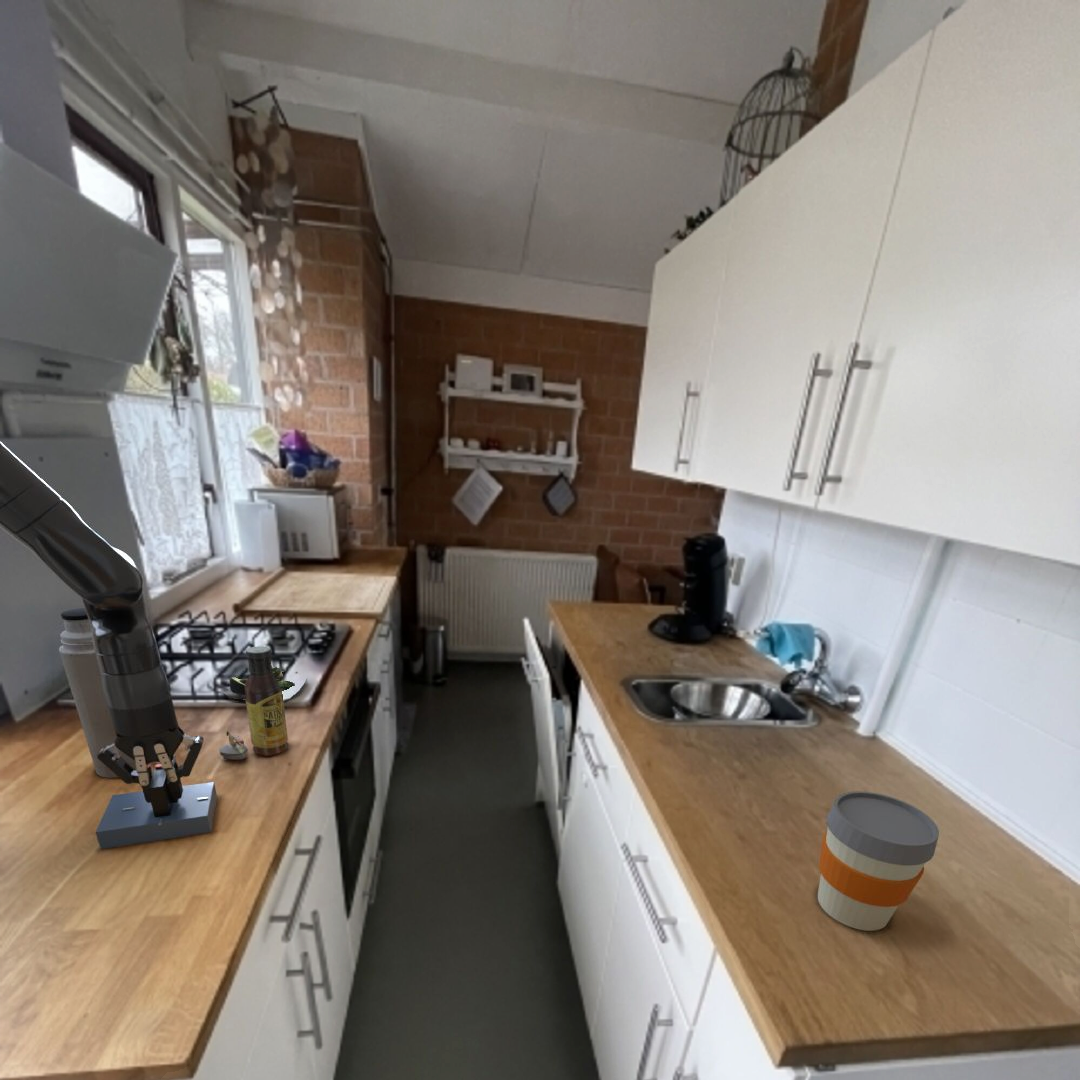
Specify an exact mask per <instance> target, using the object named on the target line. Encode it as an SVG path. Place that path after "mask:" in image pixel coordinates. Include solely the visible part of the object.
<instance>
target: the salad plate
mask: <svg viewBox="0 0 1080 1080" xmlns="http://www.w3.org/2000/svg"><path fill="white" fill-rule="evenodd" d="M272 669H273V673H274V676H275V678H276V679H280V678H282V677H283V674H282V672H283V671H282V669H281V667H280V668H277V667H275V668H273V667H272ZM246 682H247V679H238V678H236V677H235V676H231V677H230V679H229V682H228V683H230V690H231V691H232V692H233V693H236V694H238V695H246V693H245V684H246ZM278 684H279V686H280V688H281V690H282V691H284V690H287V689H289V688H290V687H292V686H295V683H293V682H290V681H284V680H282V681H278ZM231 691H230V692H231ZM225 697H226V698H228V700H230V701H232V702H236V703H242V704H246V700H243V699H233V698H229V697H227V696H225Z"/></svg>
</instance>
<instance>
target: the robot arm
mask: <svg viewBox="0 0 1080 1080" xmlns="http://www.w3.org/2000/svg"><path fill="white" fill-rule="evenodd" d="M0 528H1V530H3V531H4V532H5V533H6V534H8V535H9V536H11V538H13V539H14V540H16V541H17V542H18V543H20V544H21V545H22V546H23V547H25V548H27V549H28V550H29V551H30V552H32V554H34V555H35V556H36V557H37V558H38V559H39V560H40V561H41V562H42V563H43V564H44V565H45V566H46V567H47V568H48V569H49V570H50V571H51V572H52V573H53V574H55V575H56V577H58V579H60V581H62V582H63V583H64V584H65V585H66V586H67V587H68V588H69V589H70V590H72V592H74V593H75V594H76V595H77V596H79V597H80V598H81V600H82V603H83V606H84V608H85V609H86V612H87V615H88V618H89V621H90V625H91V630H92V641H93V646H94V651H95V654H96V658H97V661H98V665H99V668H100V672H101V679H102V686H103V691H104V694H105V698H106V701H107V705H108V708H109V712H110V715H111V719H112V722H113V726H114V729H115V732H116V739H115V741H114V743H113V744H111V745H110V746H103V747H102V749H101V750H100V752H99V754H98V756H97V758H98V759H99V760H100V761H101V762H102V763H103V764H104V765H106V766H107V767H108V768H109V769H110V770H111V771H112V772H114V773H115V774H116V775H117V776H118V777H117V778H119V779H120V780H121V781H122V782H123V783H125V784H127V785H130V784H138V785H140V787H141V789H142V790H141V791H143V794H144V797H145V800H146V802H147V803H151V801H150V797H149V794H148V790H147V788H148V785H149V782H150V780H151V777H152V774H153V770H152V763H159V764H161V766H162V768H163V770H165V773H166V775H167V778H168V783H167V784H168V788H169V792H170V796H171V800H172V803H177V802H178V801H179V799H180V798H181V797H182V793H183V788H182V786H183V784H182V779H181V778H187V777H190V775H191V773H192V771H193V768H194V766H195V764H196V761H197V759H198V757H199V754H200V753H201V750H202V748H203V743H204V737H203V736H202V735H196V736H193V735H188V734H185V732H184V730H183V729H182V728H181V727H180V726H179V724H178V723H179V722H178V720H177V715H176V710H175V706H174V702H173V697H172V694H171V692H172V691H171V685H170V683H169V681H168V677H167V674H166V671H165V669H164V667H163V663H162V660H161V655H160V650H159V648H158V643H157V640H156V636H155V633H154V630H153V628H152V626H151V624H150V621H149V618H148V613H147V609H146V608H147V607H146V603H145V597H144V593H143V592H144V579H143V576H142V574H141V572H140V570H139V568H138V566H137V564H136V562H135V561H134V560H133V559H132V557H130V556H129V554H127V553H125V552H124V551H122V550H120V549H118V548H115V547H113V546H111V545H110V544H109V543H108V542H107V541H106V540H105V539H104V538H102V537H101V536H100V535H99V534H98V533H96V532H95V531H94V530H93V529H92V528H91V527H89V526H88V524H86V523H85V522H84V520H83V519H82V518H81V516H80V515H79V514H78V512H77V511H76V510H75V509H74V508H73V506H71V505H70V504H69V503H68V502H67V501H66V500H65V499H64V498H62V496H61V495H60V494H58V493H57V492H56V491H55V490H54V489H53V488H52V487H51V486H50V485H49V484H47V482H45V481H44V480H43V479H42V478H40V476H38V474H36V473H35V472H34V471H33V470H32V469H31V468H30V467H28V466H27V464H25V463H24V462H23V461H22V460H21V459H20V458H19V457H18V456H16V455H15V454H14V453H13V452H12V451H11V450H10V449H9V448H8V447H7V446H6V445H5V444H4V443H3V442H1V441H0ZM181 744H184V750H185V751H186V752H187V755H186V757H185V759H184V762H183V764H181V765H179V764H178V762H177V757H176V752H177V751H178V749H179V748H180V746H181ZM119 750H120V751H122V752H123V753H125V754H126V755H127V756H129V757H130V758H132V759H133V760H134V761H135V763H136V770H137V771H136V770H135V769H134V768H133V767H132V766H131V765H130V764H129V763H128V762H127V761H126V760H124V759H123V758H122V757H121V752H120V751H119Z"/></svg>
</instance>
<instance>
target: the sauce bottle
mask: <svg viewBox="0 0 1080 1080" xmlns="http://www.w3.org/2000/svg"><path fill="white" fill-rule="evenodd" d="M245 657H246V659H247V661H248V662H247V663H248V672H249V673H250V676H249V678H248V680H247V682H246V684H245V693H246V703H245V705H246V712H247V719H248V726H249V733H250V740H251V744H252V750H253V752H254V753H255V754H257V755H259V756H263V757H264V756H265V757H266V756H274V755H279V754H281V753H283V752H284V751H285V750H286V749H287V748H288V745H289V744H288V740H289V738H288V729H287V720H286V712H285V711H286V710H285V703H284V702H285V701H283V694H282V690H281V688H280V686H279V684H278V682H277V680H276V678H275V676H274V673H273V669H272V666H273V664H272V651H271V648H270V647H268V646H262V645H261V646H251V647H248V648H246V649H245Z"/></svg>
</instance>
